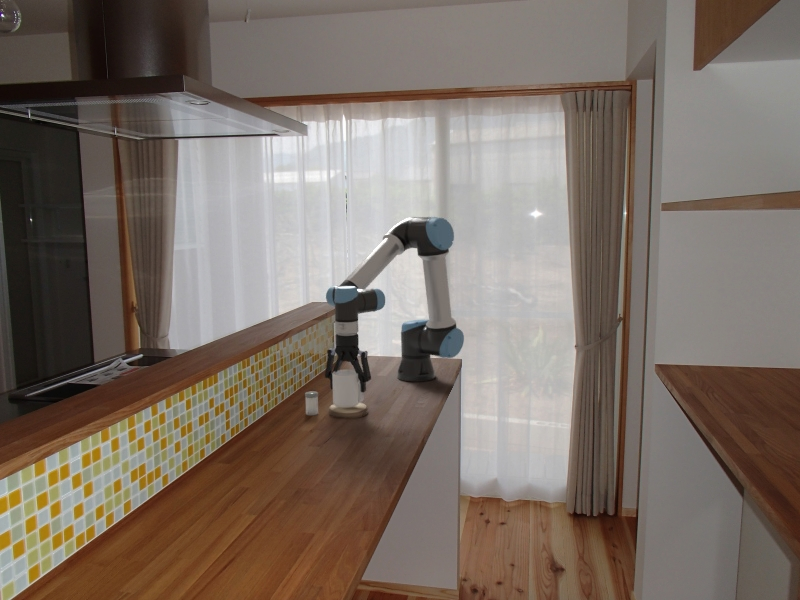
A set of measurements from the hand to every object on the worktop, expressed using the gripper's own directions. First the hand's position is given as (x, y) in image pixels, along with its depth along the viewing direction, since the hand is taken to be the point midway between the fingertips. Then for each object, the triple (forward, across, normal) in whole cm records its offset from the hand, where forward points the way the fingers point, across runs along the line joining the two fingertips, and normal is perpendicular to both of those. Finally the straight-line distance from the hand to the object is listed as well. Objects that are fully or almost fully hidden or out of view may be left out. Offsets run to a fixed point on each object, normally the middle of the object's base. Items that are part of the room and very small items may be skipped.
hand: (348, 400), depth 219 cm
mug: (+1, 0, 0) cm, 1 cm away
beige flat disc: (+4, 0, 0) cm, 4 cm away
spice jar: (+4, -11, -5) cm, 13 cm away
